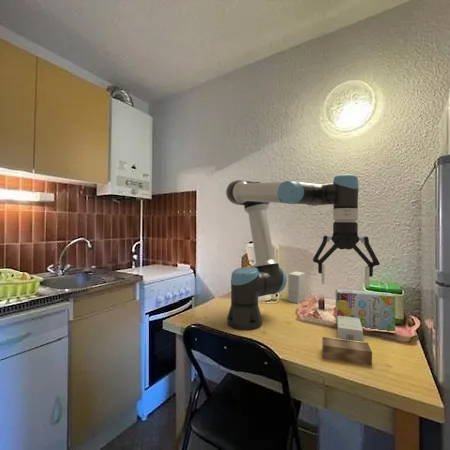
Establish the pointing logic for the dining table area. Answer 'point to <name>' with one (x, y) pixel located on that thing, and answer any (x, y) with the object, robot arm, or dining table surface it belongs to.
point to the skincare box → (296, 287)
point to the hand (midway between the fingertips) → (344, 284)
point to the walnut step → (347, 350)
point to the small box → (349, 328)
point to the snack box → (367, 308)
